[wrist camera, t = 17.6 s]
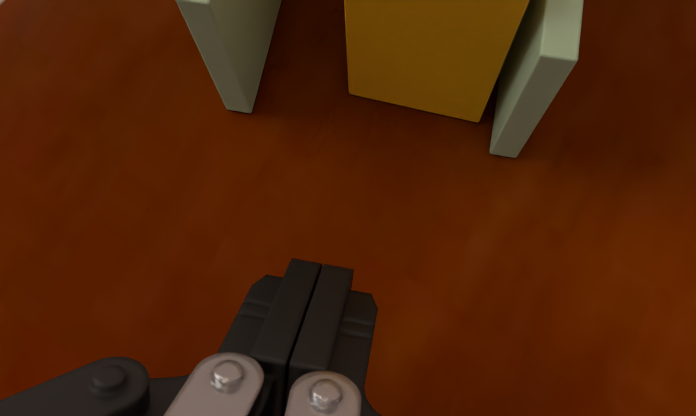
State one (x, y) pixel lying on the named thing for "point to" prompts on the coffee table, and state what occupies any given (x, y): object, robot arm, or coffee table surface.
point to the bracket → (515, 76)
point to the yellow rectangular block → (430, 51)
